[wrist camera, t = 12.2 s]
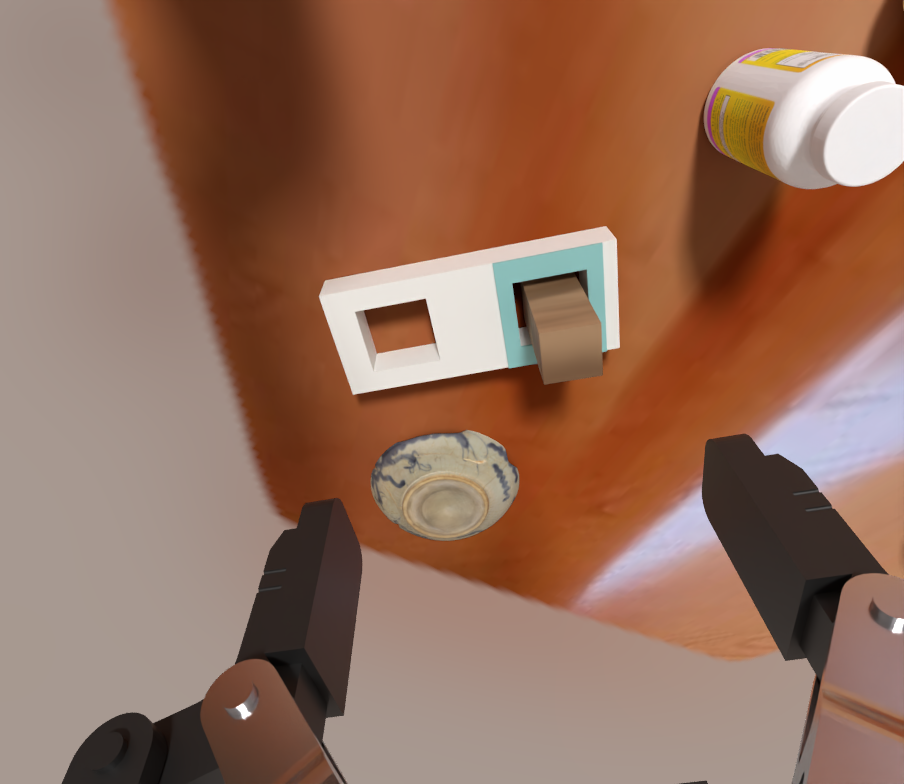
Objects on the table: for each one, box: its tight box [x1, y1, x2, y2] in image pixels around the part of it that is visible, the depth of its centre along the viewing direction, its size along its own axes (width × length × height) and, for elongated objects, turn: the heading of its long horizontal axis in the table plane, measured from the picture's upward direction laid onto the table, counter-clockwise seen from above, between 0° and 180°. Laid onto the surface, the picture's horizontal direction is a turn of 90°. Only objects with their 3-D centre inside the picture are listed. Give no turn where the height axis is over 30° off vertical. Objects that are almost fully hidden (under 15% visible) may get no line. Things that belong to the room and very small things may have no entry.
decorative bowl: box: [371, 430, 519, 541], centre depth 56 cm, size 15×4×15 cm
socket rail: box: [319, 226, 620, 395], centre depth 45 cm, size 9×22×3 cm, turn 101°
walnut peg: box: [520, 272, 603, 385], centre depth 42 cm, size 4×4×10 cm
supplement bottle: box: [704, 48, 904, 189], centre depth 33 cm, size 7×7×13 cm
